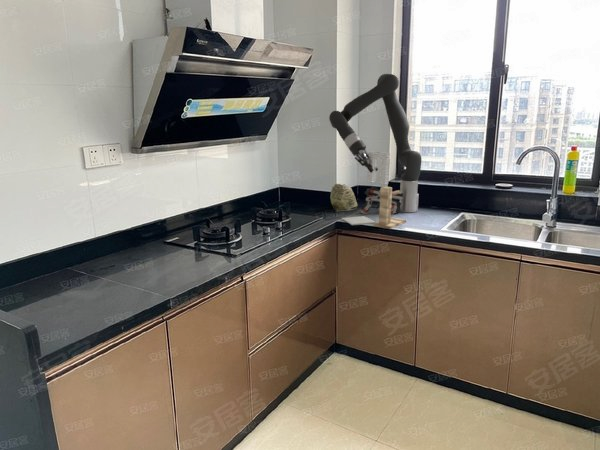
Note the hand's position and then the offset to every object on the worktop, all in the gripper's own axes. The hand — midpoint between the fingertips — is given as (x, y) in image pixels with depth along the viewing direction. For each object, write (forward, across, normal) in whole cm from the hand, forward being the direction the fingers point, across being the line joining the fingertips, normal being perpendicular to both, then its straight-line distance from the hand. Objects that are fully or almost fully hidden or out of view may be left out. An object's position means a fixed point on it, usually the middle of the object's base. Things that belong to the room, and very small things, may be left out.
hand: (374, 170), depth 219 cm
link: (+5, 0, +3) cm, 6 cm away
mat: (+15, -4, +22) cm, 27 cm away
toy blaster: (+15, +18, +21) cm, 32 cm away
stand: (+25, +1, +11) cm, 27 cm away
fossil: (0, +14, +37) cm, 39 cm away
